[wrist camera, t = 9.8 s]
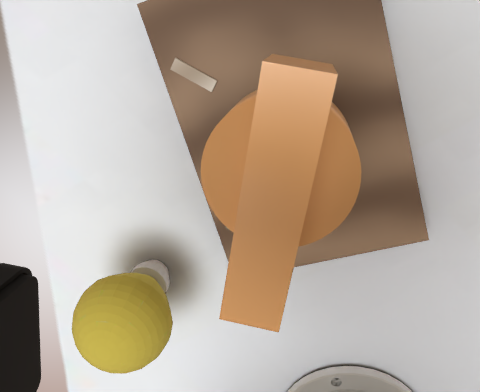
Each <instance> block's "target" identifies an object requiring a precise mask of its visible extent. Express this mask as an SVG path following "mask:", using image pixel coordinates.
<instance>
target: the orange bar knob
mask: <svg viewBox="0 0 480 392" xmlns="http://www.w3.org/2000/svg"><path fill="white" fill-rule="evenodd" d="M337 76H338V73H337V72H336V70H335V68H334V66H333V64H329V63H323V62H317V61H311V60H306V59H300V58H294V57H288V56H283V55H277V54H271V55H270V56H269V57H267V58H266V59H264V60H263V61H262V66H261V72H260V78H259V84H258V90H256V91H253V92H252V93H250V94H248V95H247V96H245V97H244V98H243V99H242V100H240V101H239V102H238V103H237V104H236V105H235V106H234V107H233V108H232V109H231V110H230V111H229V112H228V113H227V114H226V115H225V117H224V118H223V119H222V120H221V121H220V122H219V123H218V124H217V125H216V127H215V128H214V130H213V131H212V132H211V134H210V136H209V138H208V140H207V142H206V145H205V148H204V151H203V155H202V160H201V182H202V187H203V191H204V194H205V197H206V200H207V202H208V204H209V206H210V207H211V209H212V211H213V212H214V214H215V215H216V217H217V218H218V219H219V220H220V221H221V222H222V223H223V224H224V225H225V226H226V227H227V228H228V229H229V230H230V231H232V232H233V233H234V234H233V240H232V246H231V252H230V258H229V264H228V270H227V276H226V282H225V288H224V294H223V300H222V306H221V312H220V318H219V319H222V320H226V321H230V322H235V323H239V324H244V325H248V326H253V327H257V328H262V329H266V330H271V331H275V332H279V328H280V324H281V320H282V315H283V311H284V307H285V302H286V298H287V294H288V289H289V285H290V281H291V276H292V272H293V268H294V263H295V259H296V255H297V250H298V247H299V246H304V245H307V244H310V243H313V242H315V241H317V240H319V239H322V238H323V237H325V236H326V235H328V234H330V233H331V232H332V231H333V230H335V229H336V228H337V227H338V226H339V225H340V224H341V223H342V222H343V221H344V220H345V218H346V217H347V216H348V214H349V213H350V211H351V210H352V208H353V206H354V204H355V202H356V199H357V196H358V193H359V189H360V184H361V162H360V157H359V153H358V150H357V147H356V144H355V142H354V139H353V136H352V134H351V131H350V128H349V126H348V123H347V121H346V119H345V118H344V116H343V114H342V113H341V112H340V110H339V109H338V108H337V106H336V105H335V104H334V103H333V102H332V98H333V94H334V89H335V85H336V81H337Z"/></svg>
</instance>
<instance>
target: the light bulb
mask: <svg viewBox="0 0 480 392" xmlns="http://www.w3.org/2000/svg"><path fill="white" fill-rule="evenodd" d="M169 284H170V280H169V272H168V269H167V267H166V266H165V265H164V263H162V262H160V261H158V260H148V261H146V262H142V263H139V264H138V265H136V266H135V267H134V268H133V270H132V271H131V272H130V273H123V274H117V275H112V276H108V277H105V278H102V279H100V280H97V281H96V282H95V283H94V284H93V285H91V286H90V287H89V288H88V289H87V290H86V291H85V292H84V293H83V295H82V296H81V298H80V300H79V302H78V304H77V306H76V308H75V310H74V313H73V322H72V334H73V338H74V341H75V345H76V347H77V349H78V350H79V352H80V353H81V355H82V357H83V358H84V359H85V360H87V361H88V362H89V363H90V364H91V365H93V366H94V367H96V368H98V369H100V370H102V371H106V372H109V373H128V372H132V371H136V370H139V369H142V368H143V367H145V366H146V365H147V364H149V363H150V362H152V361H153V360H155V359H156V358H157V357H158V356H159V355H160V353H161V352H162V350H163V349H164V347H165V346H166V344H167V342H168V341H169V338H170V335H171V330H172V324H173V321H172V316H171V311H170V307H169V303H168V300H167V296H166V294H165V293H166V292H167V290H168V288H169Z"/></svg>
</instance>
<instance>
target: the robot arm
mask: <svg viewBox="0 0 480 392" xmlns="http://www.w3.org/2000/svg"><path fill="white" fill-rule="evenodd" d="M38 299H39V298H38V281H37V278H36V277H34V276H32V273H31V271H30V270H29V269H28V268H25V267H20V266H15V265H10V264H5V263H0V392H36V391H37V389H38V387H39V383H40V380H41V362H40V331H39V300H38ZM287 392H412V391H411V390H410V389H409V388H408V387H406V386H405V385H404V384H403V383H402V382H400V381H399V380H397V379H395V378H393V377H391V376H390V375H388V374H385V373H382V372H379V371H377V370H374V369H369V368H364V367H357V366H339V367H330V368H326V369H322V370H318V371H315V372H313V373H311V374H309V375H307V376H305V377H303V378H302V379H300V380H299V381H298V382H296V383H295V384H294V385H293V386H292V387H291V388H290V389H289V390H288V391H287Z"/></svg>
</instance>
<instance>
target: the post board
mask: <svg viewBox="0 0 480 392" xmlns="http://www.w3.org/2000/svg"><path fill="white" fill-rule="evenodd" d="M137 5H138V8H139V11H140V14H141V17H142V20H143V22H144V25H145V28H146V31H147V34H148V36H149V39H150V42H151V45H152V48H153V51H154V53H155V56H156V59H157V62H158V65H159V67H160V70H161V73H162V76H163V79H164V82H165V84H166V87H167V90H168V93H169V96H170V98H171V101H172V104H173V107H174V110H175V112H176V115H177V118H178V121H179V124H180V127H181V129H182V132H183V135H184V138H185V141H186V143H187V146H188V149H189V152H190V155H191V158H192V160H193V163H194V166H195V169H196V172H197V174H198V177H199V180H200V183H201V186H202V182H201V160H202V155H203V151H204V148H205V145H206V142H207V140H208V138H209V136H210V134H211V132H212V131H213V130H214V128H215V127H216V125H217V124H218V123H219V122H220V121H221V120H222V119H223V118H224V117H225V115H226V114H227V113H228V112H229V111H230V110H231V109H232V108H233V107H234V106H235V105H236V104H237V103H238V102H239V101H240V100H242V99H243V98H244V97H245V96H247V95H248V94H250V93H252V92H253V91H256V90H258V84H259V78H260V72H261V66H262V61H263V60H264V59H266V58H267V57H269V56H270V55H271V54H277V55H283V56H288V57H294V58H300V59H306V60H311V61H317V62H323V63H329V64H333V66H334V68H335V70H336V72H337V73H338V76H337V81H336V85H335V89H334V94H333V98H332V102H333V103H334V104H335V105H336V106H337V108H338V109H339V110H340V112H341V113H342V114H343V116H344V118H345V119H346V121H347V123H348V126H349V128H350V131H351V134H352V136H353V139H354V142H355V144H356V147H357V150H358V153H359V157H360V162H361V184H360V189H359V193H358V196H357V199H356V202H355V204H354V206H353V208H352V210H351V211H350V213H349V214H348V216H347V217H346V218H345V220H344V221H343V222H342V223H341V224H340V225H339V226H338V227H337V228H336V229H335V230H333V231H332V232H331V233H330V234H328V235H326V236H325V237H323V238H322V239H319V240H317V241H315V242H313V243H310V244H307V245H304V246H299V247H298V250H297V255H296V259H295V263H294V267H297V266H302V265H307V264H312V263H317V262H322V261H327V260H332V259H337V258H342V257H347V256H352V255H357V254H362V253H367V252H372V251H377V250H382V249H387V248H392V247H397V246H402V245H407V244H411V243H416V242H421V241H426V240H429V238H428V233H427V228H426V223H425V218H424V213H423V208H422V203H421V198H420V193H419V188H418V183H417V178H416V173H415V168H414V163H413V158H412V153H411V148H410V143H409V138H408V133H407V128H406V123H405V118H404V113H403V108H402V103H401V98H400V93H399V88H398V83H397V78H396V73H395V68H394V63H393V58H392V53H391V48H390V43H389V38H388V33H387V28H386V23H385V17H384V12H383V7H382V2H381V0H147V1H145V2H142V3H139V4H137ZM202 188H203V187H202ZM207 203H208V202H207ZM208 205H209V204H208ZM209 208H210V211H211V214H212V217H213V219H214V222H215V225H216V228H217V231H218V234H219V236H220V239H221V242H222V245H223V248H224V250H225V253H226V256H227V259H228V262H229V258H230V252H231V246H232V240H233V234H234V233H233V232H232V231H230V230H229V229H228V228H227V227H226V226H225V225H224V224H223V223H222V222H221V221H220V220H219V219H218V218H217V217H216V215H215V214H214V212H213V211H212V209H211V207H210V206H209Z"/></svg>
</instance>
